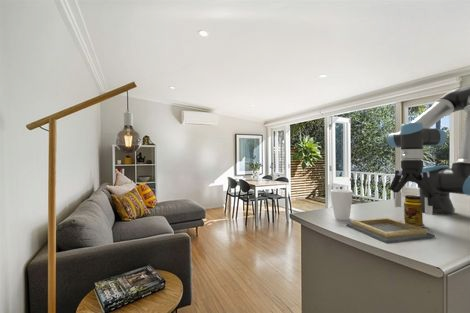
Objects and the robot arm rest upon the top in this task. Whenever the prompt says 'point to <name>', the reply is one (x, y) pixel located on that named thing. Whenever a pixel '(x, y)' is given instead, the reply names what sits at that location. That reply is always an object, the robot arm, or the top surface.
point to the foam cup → (341, 203)
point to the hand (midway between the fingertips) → (412, 210)
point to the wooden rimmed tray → (389, 230)
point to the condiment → (413, 211)
